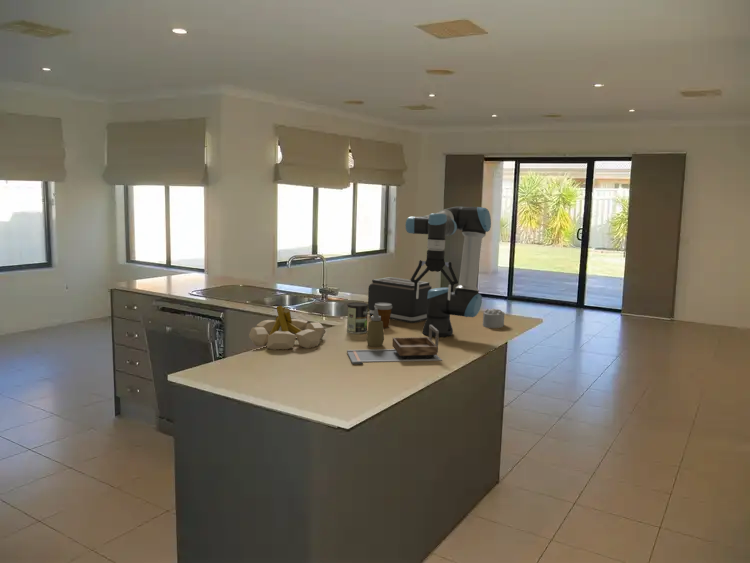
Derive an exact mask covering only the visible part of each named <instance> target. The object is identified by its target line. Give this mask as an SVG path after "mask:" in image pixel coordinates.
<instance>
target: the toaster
mask: <svg viewBox="0 0 750 563" xmlns="http://www.w3.org/2000/svg"><path fill="white" fill-rule="evenodd" d="M418 283H419V295H418V299H416V292H417V291H415V290H414V282H411V280H410V279H407V278H402V277H392V276H387V277H382V278H375V279H372V281H371V283H370V284H369V285H368V290H367V291H368V292H367V298H368V299H367V304H368V310H369V316H371V315H373V314H374V310H375V307H374V306H375V304H376V303H390V304H392V309H391V315H390V320H393V321H399V322H404V323H409V324H416V323H420V322H423V321H424V322H425V321H426V318H427V297H428V291H429V290H430V289H433V288H432V286H431V285H430V282H428V281H422V280H419V282H418Z"/></svg>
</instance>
